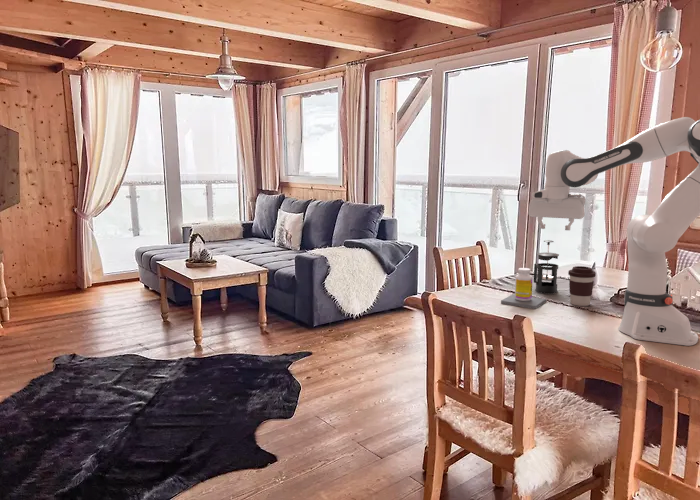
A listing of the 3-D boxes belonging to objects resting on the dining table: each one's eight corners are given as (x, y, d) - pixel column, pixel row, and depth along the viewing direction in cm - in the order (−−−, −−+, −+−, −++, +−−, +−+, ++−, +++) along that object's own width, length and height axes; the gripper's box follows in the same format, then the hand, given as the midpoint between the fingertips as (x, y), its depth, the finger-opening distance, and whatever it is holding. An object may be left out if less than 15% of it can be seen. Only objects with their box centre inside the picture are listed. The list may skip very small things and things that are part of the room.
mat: (546, 301, 206) (546, 298, 206) (535, 309, 196) (535, 306, 196) (512, 296, 215) (513, 293, 215) (500, 303, 205) (501, 300, 205)
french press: (563, 292, 221) (566, 240, 217) (549, 295, 216) (552, 242, 212) (541, 287, 231) (543, 237, 227) (527, 289, 226) (529, 239, 222)
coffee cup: (577, 308, 196) (579, 270, 194) (561, 301, 206) (563, 266, 204) (599, 306, 198) (601, 269, 196) (582, 300, 208) (584, 264, 206)
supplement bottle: (532, 301, 202) (534, 270, 200) (515, 301, 203) (516, 270, 201) (530, 297, 209) (531, 267, 206) (513, 297, 210) (514, 267, 208)
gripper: (588, 193, 187) (585, 230, 190) (533, 192, 200) (531, 226, 202) (583, 194, 182) (581, 232, 185) (527, 193, 195) (526, 228, 198)
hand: (554, 229), depth 194 cm, fingers open, 8 cm apart
